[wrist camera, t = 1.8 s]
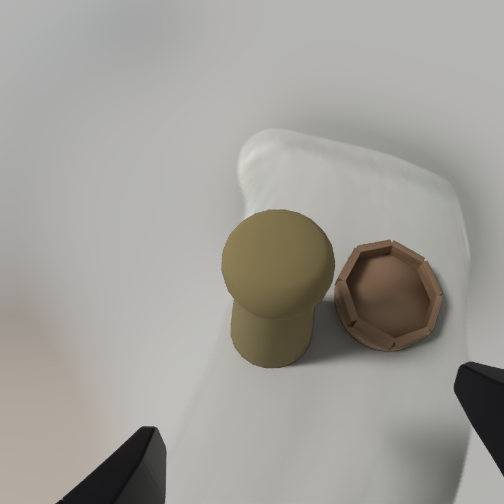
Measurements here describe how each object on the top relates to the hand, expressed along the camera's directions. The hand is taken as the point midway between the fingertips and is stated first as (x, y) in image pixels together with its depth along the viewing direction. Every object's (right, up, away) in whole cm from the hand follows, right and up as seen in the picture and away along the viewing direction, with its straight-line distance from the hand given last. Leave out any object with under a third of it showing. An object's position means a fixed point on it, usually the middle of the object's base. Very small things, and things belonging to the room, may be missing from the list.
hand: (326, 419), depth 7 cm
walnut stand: (+9, +1, +16) cm, 18 cm away
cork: (-1, -1, +15) cm, 15 cm away
